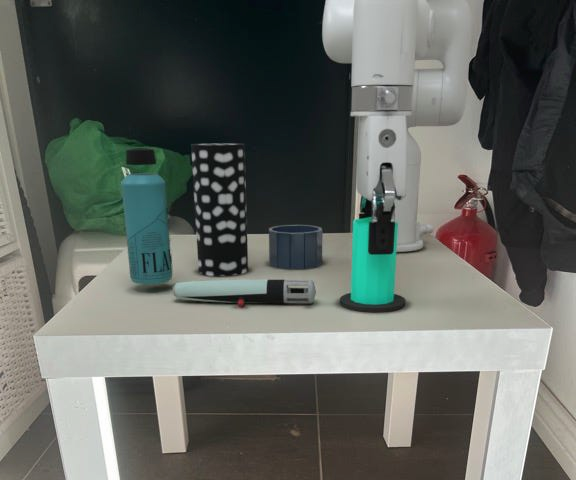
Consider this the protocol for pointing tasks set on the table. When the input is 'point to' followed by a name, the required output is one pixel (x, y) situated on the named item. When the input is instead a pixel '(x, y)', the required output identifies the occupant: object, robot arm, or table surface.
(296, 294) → the flashlight
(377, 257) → the candle
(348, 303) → the coaster
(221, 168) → the spotted tube
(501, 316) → the table surface
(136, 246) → the beverage bottle
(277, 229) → the holder
